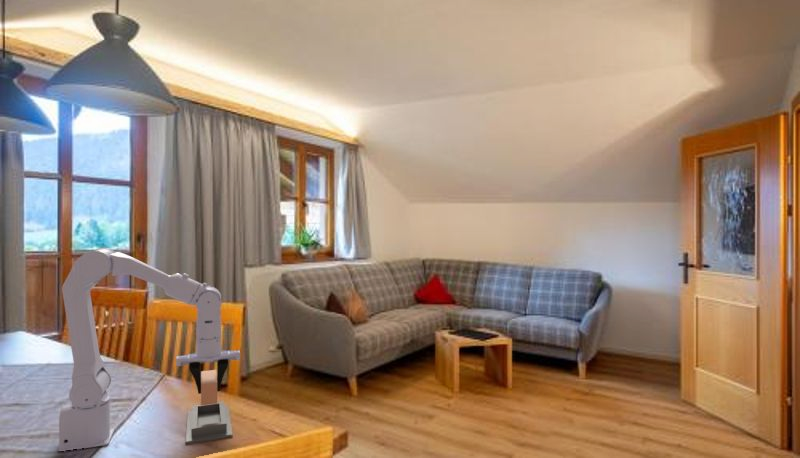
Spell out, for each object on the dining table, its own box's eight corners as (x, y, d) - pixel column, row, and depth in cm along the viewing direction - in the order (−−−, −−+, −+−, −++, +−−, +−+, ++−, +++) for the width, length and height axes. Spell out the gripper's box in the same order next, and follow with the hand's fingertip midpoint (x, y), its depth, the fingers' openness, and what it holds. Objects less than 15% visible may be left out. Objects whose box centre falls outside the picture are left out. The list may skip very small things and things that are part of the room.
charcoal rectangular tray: (185, 444, 107) (185, 433, 107) (187, 413, 123) (187, 403, 123) (232, 436, 111) (232, 425, 111) (228, 407, 127) (228, 398, 127)
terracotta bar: (201, 405, 112) (200, 384, 111) (201, 390, 121) (201, 371, 121) (217, 403, 113) (217, 382, 113) (216, 388, 122) (216, 369, 122)
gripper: (175, 343, 110) (175, 401, 110) (241, 338, 115) (240, 392, 116) (177, 336, 116) (177, 390, 117) (239, 331, 122) (238, 383, 122)
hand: (208, 391), depth 117 cm, fingers closed on terracotta bar, 4 cm apart
